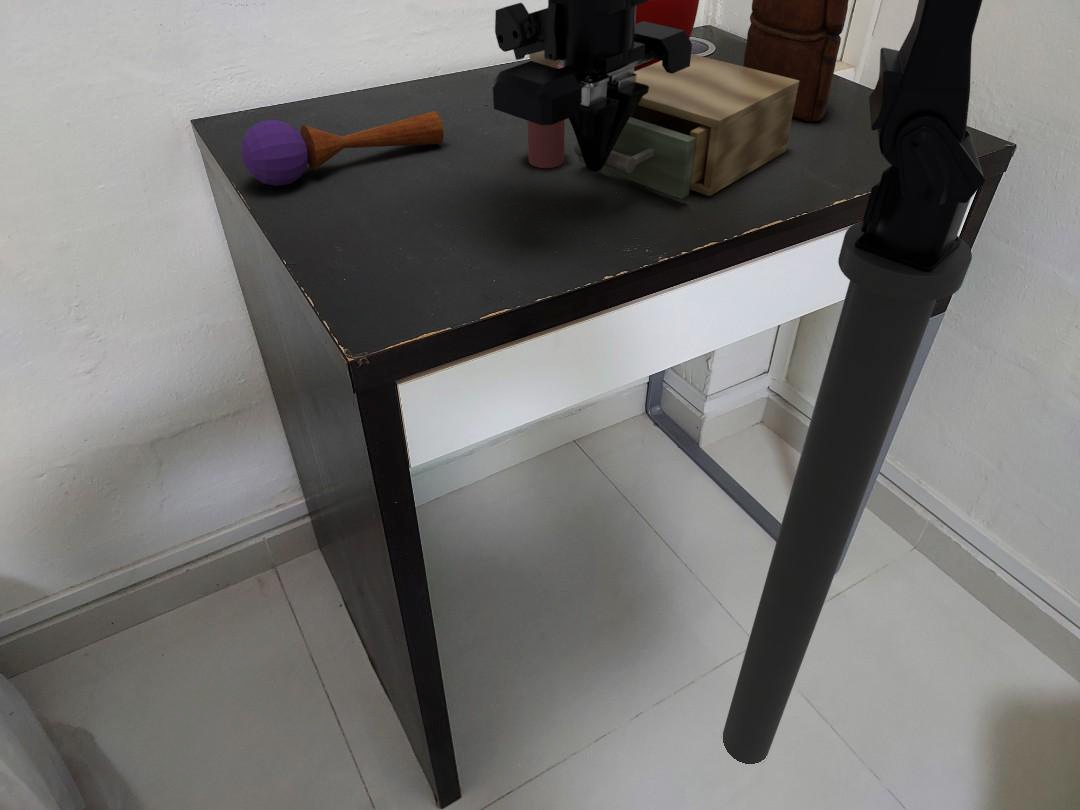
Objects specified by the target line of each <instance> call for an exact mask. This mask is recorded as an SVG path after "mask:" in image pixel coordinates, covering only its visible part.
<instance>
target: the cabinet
mask: <svg viewBox="0 0 1080 810" xmlns="http://www.w3.org/2000/svg"><path fill="white" fill-rule="evenodd" d="M743 66H744V65H743ZM743 66H742V65H740V64H739V65H738V64H735V63H730V62H727V61H722V60H718V59H715V58H710V57H706V56H703V55H702V56H701V55H699V54H693V53H691V60H690V66H689V67H687V68H685V69H682V70H680V71H678V72H675V73H673V74H671V73H667V72H666V70H665V69H664V67H663V66H662V61H660V62H657V63H655V64H652V65H650V66H647V67H645V68H642V69H640V70H637V71H635V72H634V74H637V76H636V82H638V83H641V84H645V85H648V86H649V91H648V93H647V94H645V95H644V96H643V97H642V98H641V100H640V102H639V103H638V105H639V106H643V107H646V108H649V109H653V110H656V111H659V112H662V113H666V114H669V115H672V116H676V117H679V118H682V119H686V120H689V121H692V122H695V123H699V124H702V125H705V126H709V127H711V132H710V140H709V147H708V155H707V163H706V171H705V177H704V178H702V179H700V180H698V181H697V182H695V183H693V184H690V190H689V191H693V192H696V193H699V194H701V195H703V196H704V195H705V196H707V197H711V196H713V195H714V194H716V193H718V192H719V191H721V190H723V189H725V188H727V187H728V186H730V185H731V184H733V183H735V182H736V181H738V180H740V179H741V178H743V177H745V176H747V175H748V174H750V173H751V172H754V171H755V170H756V169H759V168H761V167H763V166H764V165H765V164H768V163H769V162H770V161H772V160H774V159H775V158H777V157H779V156H781V155H783V154H784V153H786V151H787V146H788V145H787V144H788V140H789V135H790V130H791V126H792V121H793V116H792V115H793V110H794V105H795V100H796V95H797V89H798V85H799V80H795V79H791V78H787V77H783V76H779V75H775V74H771V73H767V72H763V71H759V70H755V69H751V68H747V67H743Z"/></svg>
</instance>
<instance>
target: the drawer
mask: <svg viewBox="0 0 1080 810" xmlns="http://www.w3.org/2000/svg"><path fill="white" fill-rule="evenodd" d="M710 132H711V127H709V126H705V125H702V124H699V123H695V122H692V121H689V120H686V119H682V118H679V117H676V116H672V115H669V114H666V113H662V112H659V111H656V110H653V109H649V108H646V107H643V106H639V105H637V107H636V108H635V110H634V112H633V113H632V115H631V117H630V118H629V120H628V122H627V123H626V125H625V127H624V129H623V130H622V132H621V134H620V136H619V138H618V139H617V141H616V143H615V145H614V147H613V149H612V151H611V153H610V154H609V156H608V158H607V160H606V162H605V164H604V166H603V168H602V169H601V171H604V172H607V173H610V174H612V175H615V176H618V177H621V178H624V179H626V180H628V181H631V182H634V183H637V184H639V185H642V186H645V187H648V188H650V189H653V190H656V191H658V192H661V193H663V194H666V195H669V196H671V197H675V198H677V199H680V200H683V199H684V198H686V197H688V196H689V195H690V191H691V190H690V184H693V183H695V182H697V181H698V180H700V179H702V178H704V177H705V171H706V163H707V155H708V147H709V140H710ZM574 154H575V155H576V156H577V161H578V162H579V163H583V164H585V162H584V159H583V156H582V153H581V150H580V147H579V144H578V141H576V143H575V146H574Z"/></svg>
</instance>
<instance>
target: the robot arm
mask: <svg viewBox="0 0 1080 810" xmlns="http://www.w3.org/2000/svg"><path fill="white" fill-rule="evenodd" d="M645 2H648V0H547V7H545V8H541V9H539V10H537V11H536V10H535V11H533V12H529V11H528V10H527V8H526V6H525V5H524V3H523V2H518V3H515V4H510V5H508V6H507V5H506V6H504V7H502V8H498V9H495V16H494V19H495V20H494V33H495V37H496V41H497V45H498V47H499V49H500V50H501V51H502V52H505V53H506V52H510V51H513V54H514V58H515V60H516V61H519V60H523V59H525V56H529V54H532V53H536V52H540V51H544V58H546V59H550V60H553V61H556V60H560V61H563V67H562V68H560V69H558V68H554V67H551V66H547V65H544V64H540V63H537V62H533V61H527V62H524V63H521V64H518V65H515V66H512V67H509V68H506V69H504V70H501V71H499V73H498V74H497V75H496V77H495V78H494V79H493V80H492V101H493V109H494V110H496V111H499V112H500V113H501V112H502V113H504V114H507V115H510V116H513V117H516V118H519V119H522V120H524V121H527V122H528V121H530V122H533V123H536V124H539V125H553V124H555V123H558V122H560V121H562V120H564V121H566V120H567V119H568V120H569V123H570V125H571V127H572V129H573V132H574V136H575V138H576V142H578V144H579V147H580V150H581V153H582V156H583V159H584V162H585V163H584V165H585V167H586V169H587V170H588V171H590V172H592V173H597V172H600V171H602V168H603V166H604V164H605V162H606V160H607V158H608V156H609V154H610V153H611V151H612V149H613V147H614V145H615V143H616V141H617V139H618V138H619V136H620V134H621V132H622V130H623V129H624V127H625V125H626V123H627V122H628V120H629V118H630V117H631V115H632V113H633V112H634V110H635V108H636V107H637V105H638V103H639V102H640V100H641V98H642V97H643V96H644V95H645V94H647V93H648V91H649V86H648V85H645V84H641V83H638V82H636V76H637V74H634V67H636V66H638V65H641V64H643V63H646V62H648V61H651V60H653V59H658V60H662V66H663V67H664V69H665V70H666V72H667V73H671V74H673V73H675V72H678V71H680V70H682V69H685V68H687V67H689V66H690V60H691V54H692V48H693V42H692V41H691V39H690V38H688V36H687V34H686V32H685V31H684V30H680V29H675V28H671V27H667V26H662V25H658V24H653V23H649V22H645V21H643V22H640V23H637V24H635V18H636V5H639V4H642V3H645ZM982 3H983V0H918V2H917V5H916V10H915V15H914V19H913V22H912V25H911V27H910V29H909V31H908V33H907V35H906V37H905V39H904V41H903V42H902V44H901V46H900V48H899V50H898V49H892V48H887V47H881V48H880V51H879V70H878V71H879V73H878V79H877V81H876V84H875V87H874V89H873V91H872V92H871V94H870V95H869V97H868V98H869V99H868V101H869V102H868V103H869V114H870V115H869V116H870V127H871V128H870V129H871V131H877V134H878V135H877V136H878V146H879V150H880V154H881V155H882V156H883V157H884V159H885V160H886V161H887V162H888V164H889V165H890V166H889V167H887V168H886V169H884V170H883V171H882V173H881V178H880V180H879V181H878V182H877V183H876V184H875V185H873V186H872V187H871V190H870V193H869V197H868V201H867V203H866V208H865V210H864V211H865V212H864V215H863V219H862V221H863V222H862V226H861V231H862V232H864V233H865V234H863V235H862V236H861V237H860V238H858V239H857V240H856V242H855V247H856V248H859V249H861V250H864V251H867V252H870V253H872V254H875V255H878V256H881V257H884V258H886V259H889V260H892V261H895V262H898V263H900V264H903V265H906V266H909V267H912V268H914V269H917V270H920V271H923V272H931V271H933V270H934V269H935V268H936V267H937V266H938V265H939V264H940V263H941V262H942V261H943V260H944V259H946V258H947V257H948V256H949V255H950V254H951V253H952V252H953V251H954V250H955V249H956V248H957V247H958V246H959V245H960V243H961V239H962V238H961V237H960V238H961V239H960V238H958V237H959V236H958V234H959V231H960V229H961V226H962V223H963V220H964V218H965V215H966V212H967V210H968V207H969V204H970V201H971V199H972V197H973V196H974V195H975V194H976V192H978V190H979V189H980V188H981V186H982V185H983V184H984V183H985V175H984V173H983V169H982V166H981V163H980V160H979V158H978V154H977V150H976V147H975V144H974V141H973V138H972V134H971V133H970V131H969V130H968V129H967V125H968V115H969V105H970V96H971V76H972V75H971V74H972V72H971V71H972V47H973V46H972V44H973V35H974V31H975V28H976V25H977V21H978V18H979V13H980V11H981V8H982ZM957 236H958V237H957Z"/></svg>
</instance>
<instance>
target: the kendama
mask: <svg viewBox="0 0 1080 810" xmlns="http://www.w3.org/2000/svg"><path fill="white" fill-rule="evenodd" d="M444 135H445V134H444V125H443V121H442V118H441V116H440V115H439V113H438V112H437V111H436V110H432V111H428V112H425V113H424V112H423V113H422V114H417V115H414V116H410V117H406V118H403V119H399V120H396V121H393V122H389V123H385V124H381V125H379V126H375V127H371V128H368V129H364V130H361V131H357V132H354V133H350V134H347V135H343V136H341V135H337V134H335V133H331V132H328V131H325V130H322V129H318V128H315V127H312V126H309V125H305V124H303V125H301V127H300V131H298V130H297V129H296V128H294V127H293V126H292V125H290V124H289V123H288V122H286V121H281V120H278V119H267V120H261V121H259V122H257V123H256V124H254V125H253V126H251V127H250V128H248V129H247V131H246V132H245V134H244V136H243V138H242V140H241V148H240V156H241V157H240V158H241V161H242V163H243V165H244V166H245V168H246V170H247V172H248V173H249V174H250V175H251V177H253V178H254V179H256V180H257V181H259V182H260V183H261V184H264V185H268V186H273V187H280V186H285V185H291V184H293V183H294V182H295V181H297V180H299V179H300V178H301V177H302V176H303V174H304V172H305V170H306V168H307V166H308V167H309V169H311V170H312V171H316V170H317V169H319V168H320V167H321V166H323V165H324V164H326V162H328V161H329V160H330V159H332V158H333V157H335V156H336V155H337V154H338V153H340V152H341V151H342V150H344V149H357V148H360V149H361V148H379V147H381V148H382V147H402V146H427V145H441V144H442V142H443V141H444V137H445V136H444Z"/></svg>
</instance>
